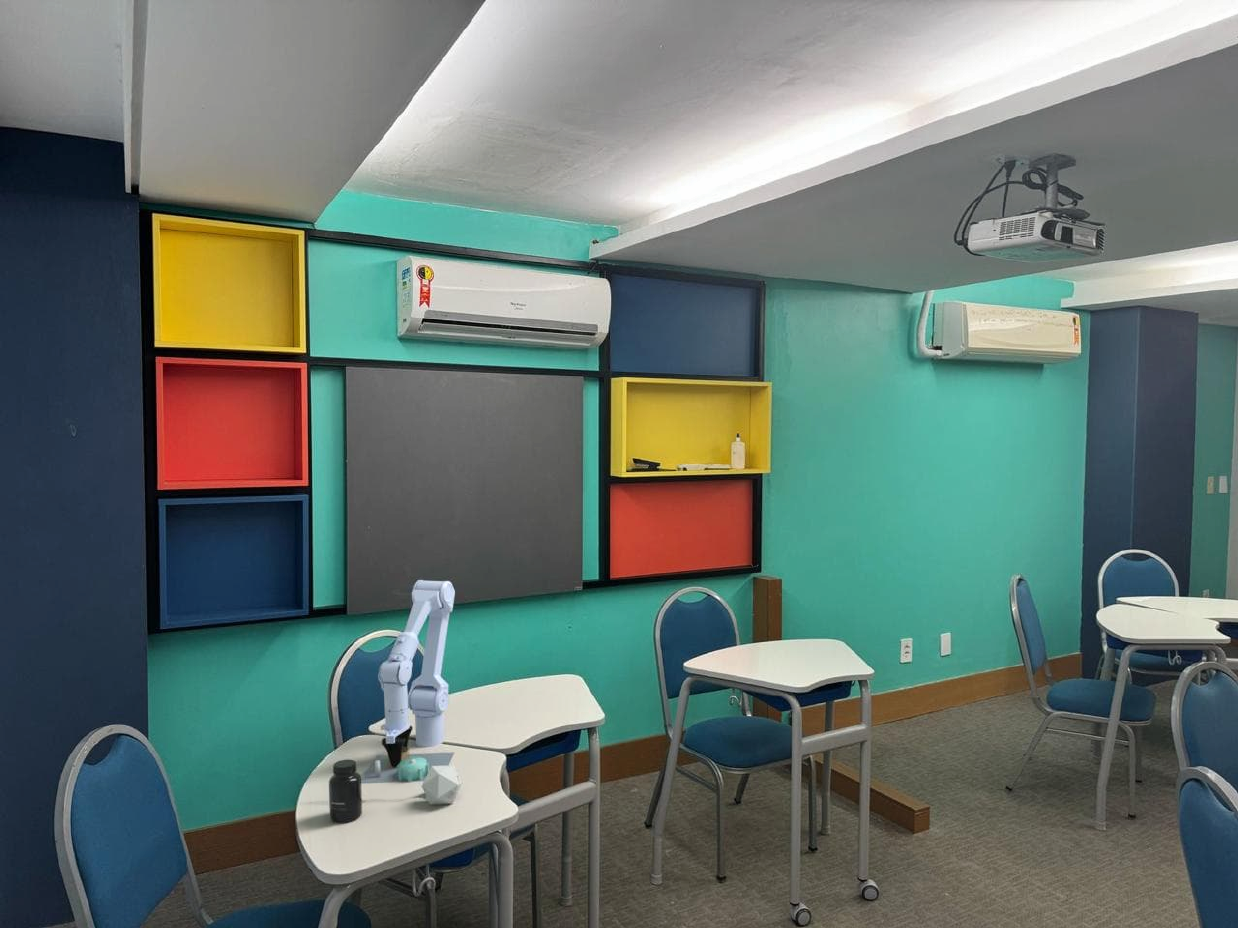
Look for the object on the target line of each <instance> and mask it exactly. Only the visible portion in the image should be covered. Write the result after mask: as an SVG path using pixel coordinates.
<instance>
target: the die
mask: <svg viewBox="0 0 1238 928" xmlns="http://www.w3.org/2000/svg"><path fill="white" fill-rule="evenodd" d="M462 784H463V782H462V781H461V778H460V776H459V774H458V772H457V770H456V768H455V765H453V764H452V765H450V764H449V765H448V766H431V768H430V770H429V772H428V774H427V776H426V778H425V780H424V781H422V785H421V788H422V790H423V791H424V794H425V796H426V799H427V801H428V803H429V805H431V806H432V805H453V804H454V802H455V799H456V797H457V795H458V793H459V791H460V790H461V789H460V788H461V787H462Z"/></svg>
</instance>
